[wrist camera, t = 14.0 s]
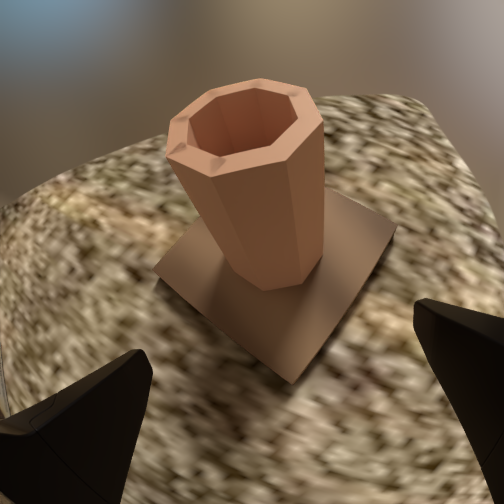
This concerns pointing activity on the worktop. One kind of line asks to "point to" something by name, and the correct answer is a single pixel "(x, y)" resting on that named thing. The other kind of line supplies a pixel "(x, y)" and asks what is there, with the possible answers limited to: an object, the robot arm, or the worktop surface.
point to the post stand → (283, 299)
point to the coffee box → (3, 394)
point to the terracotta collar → (256, 176)
